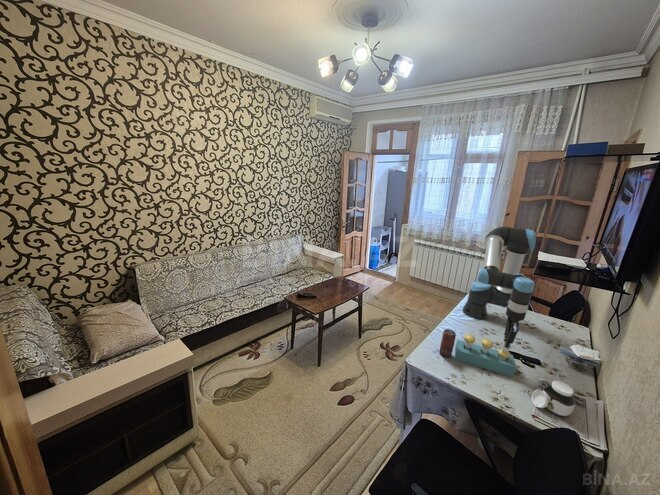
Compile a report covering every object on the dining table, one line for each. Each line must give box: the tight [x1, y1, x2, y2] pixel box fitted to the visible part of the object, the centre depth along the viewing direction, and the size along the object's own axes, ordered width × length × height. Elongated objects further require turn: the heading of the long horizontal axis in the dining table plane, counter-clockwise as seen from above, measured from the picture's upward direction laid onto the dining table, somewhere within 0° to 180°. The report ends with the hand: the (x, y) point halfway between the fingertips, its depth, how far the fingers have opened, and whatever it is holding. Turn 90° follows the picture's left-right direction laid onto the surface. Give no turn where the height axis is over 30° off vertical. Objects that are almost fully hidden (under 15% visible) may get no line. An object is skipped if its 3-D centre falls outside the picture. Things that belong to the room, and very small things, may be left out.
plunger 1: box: [464, 333, 476, 350], centre depth 139 cm, size 5×5×8 cm
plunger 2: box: [497, 348, 511, 361], centre depth 134 cm, size 5×5×8 cm
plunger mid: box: [481, 338, 494, 355], centre depth 136 cm, size 5×5×8 cm
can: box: [438, 328, 457, 359], centre depth 141 cm, size 6×6×14 cm
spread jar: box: [530, 380, 576, 417], centre depth 112 cm, size 12×11×12 cm
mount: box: [454, 339, 517, 378], centre depth 138 cm, size 10×26×6 cm, turn 65°
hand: (504, 351), depth 133 cm, fingers closed
